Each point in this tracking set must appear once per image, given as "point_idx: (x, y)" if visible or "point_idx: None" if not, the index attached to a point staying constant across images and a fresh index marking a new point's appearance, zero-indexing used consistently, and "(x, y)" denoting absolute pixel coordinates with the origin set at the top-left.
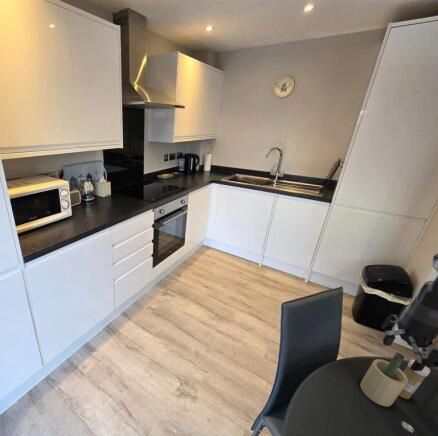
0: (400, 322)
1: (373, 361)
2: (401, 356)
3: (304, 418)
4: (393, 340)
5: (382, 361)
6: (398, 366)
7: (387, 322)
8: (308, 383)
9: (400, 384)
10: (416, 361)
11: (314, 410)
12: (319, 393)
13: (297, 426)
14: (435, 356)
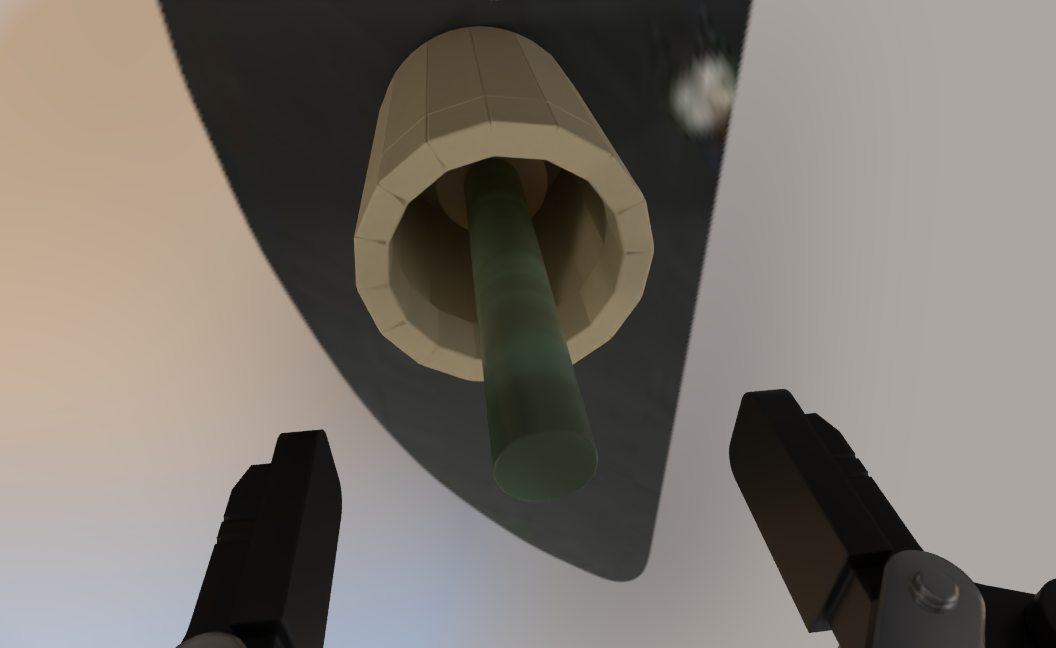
0: None
1: (395, 342)
2: (563, 461)
3: (607, 542)
4: (299, 530)
5: (384, 257)
6: (564, 339)
7: None
8: (447, 479)
9: (644, 271)
10: (824, 617)
11: (579, 503)
12: None
13: (631, 568)
14: None
